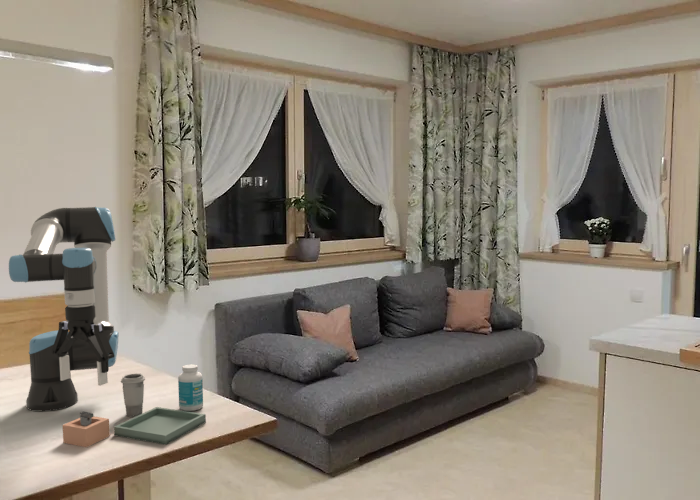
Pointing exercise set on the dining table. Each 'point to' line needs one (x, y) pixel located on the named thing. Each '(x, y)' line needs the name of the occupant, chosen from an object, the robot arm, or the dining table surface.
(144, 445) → the dining table surface
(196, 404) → the pill bottle
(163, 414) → the tray
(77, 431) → the pink open box
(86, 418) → the post
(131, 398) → the cup
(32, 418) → the dining table surface
